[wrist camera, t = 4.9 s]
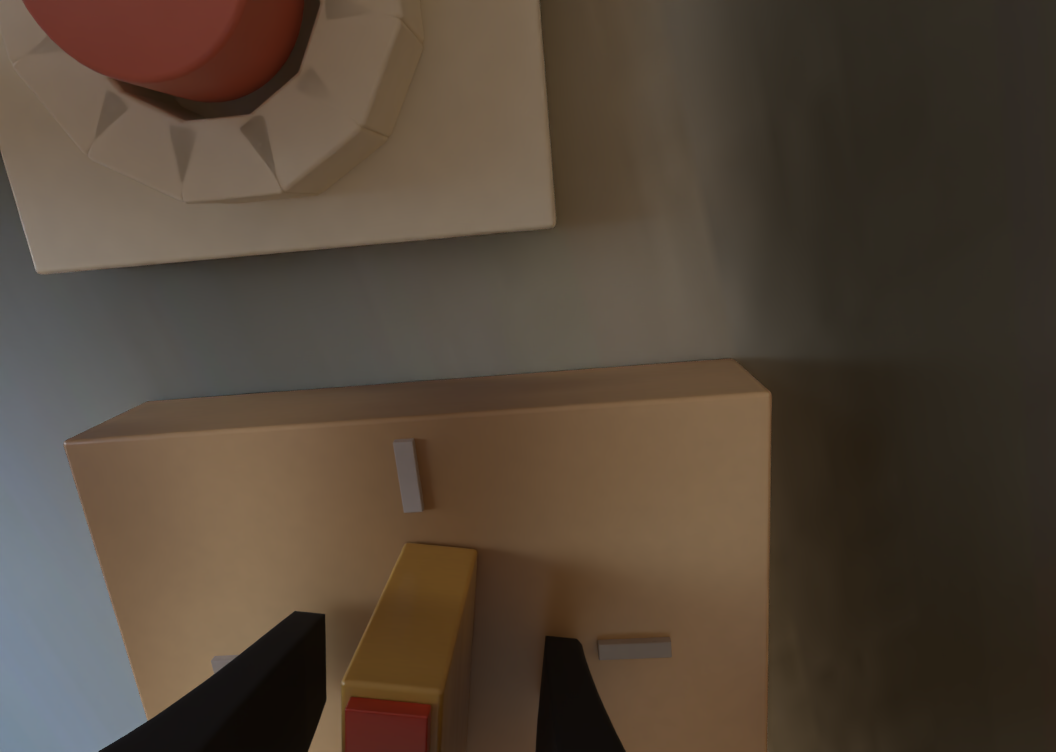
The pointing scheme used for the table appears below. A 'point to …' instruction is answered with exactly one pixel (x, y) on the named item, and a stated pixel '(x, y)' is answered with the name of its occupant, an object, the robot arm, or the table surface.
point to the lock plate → (459, 536)
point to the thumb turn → (414, 657)
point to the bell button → (177, 41)
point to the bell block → (286, 141)
